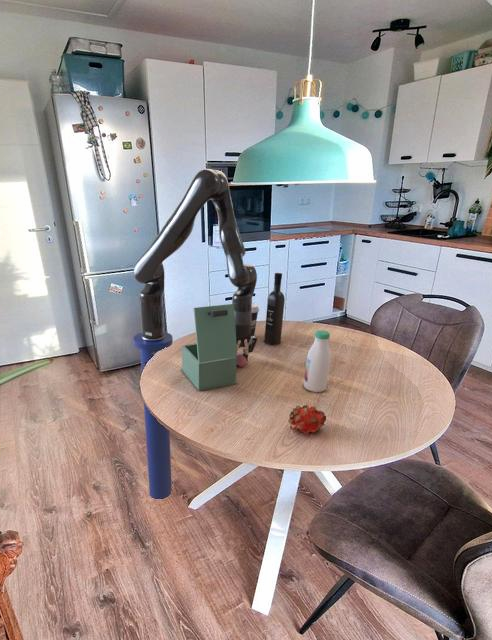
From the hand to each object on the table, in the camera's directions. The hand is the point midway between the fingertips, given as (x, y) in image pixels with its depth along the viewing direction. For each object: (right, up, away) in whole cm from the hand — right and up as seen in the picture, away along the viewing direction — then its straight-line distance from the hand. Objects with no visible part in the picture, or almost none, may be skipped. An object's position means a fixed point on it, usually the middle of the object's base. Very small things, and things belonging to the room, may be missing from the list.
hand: (238, 363), depth 147 cm
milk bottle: (+25, -8, -15) cm, 31 cm away
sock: (0, 0, 0) cm, 0 cm away
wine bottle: (+15, +9, +22) cm, 28 cm away
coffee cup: (+4, +11, +26) cm, 29 cm away
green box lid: (-8, +10, -23) cm, 26 cm away
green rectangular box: (-11, -5, -10) cm, 16 cm away
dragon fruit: (+17, -18, -38) cm, 46 cm away
